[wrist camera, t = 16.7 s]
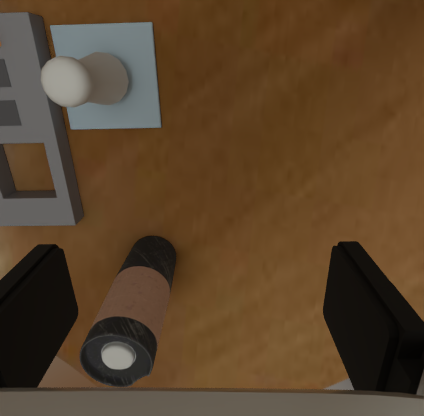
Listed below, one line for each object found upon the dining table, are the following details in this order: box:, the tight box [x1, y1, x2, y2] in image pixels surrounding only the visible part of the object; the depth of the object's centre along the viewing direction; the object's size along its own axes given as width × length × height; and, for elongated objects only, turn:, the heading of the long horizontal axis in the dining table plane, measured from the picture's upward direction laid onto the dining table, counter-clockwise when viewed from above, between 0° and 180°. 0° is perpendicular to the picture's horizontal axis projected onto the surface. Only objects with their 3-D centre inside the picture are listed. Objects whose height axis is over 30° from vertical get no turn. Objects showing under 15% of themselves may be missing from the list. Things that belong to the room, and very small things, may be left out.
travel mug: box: [80, 236, 176, 387], centre depth 41 cm, size 8×8×20 cm
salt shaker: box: [41, 52, 129, 107], centre depth 33 cm, size 6×6×13 cm
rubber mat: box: [50, 22, 162, 129], centre depth 39 cm, size 12×12×1 cm
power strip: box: [0, 12, 84, 226], centre depth 40 cm, size 26×11×4 cm, turn 1°
